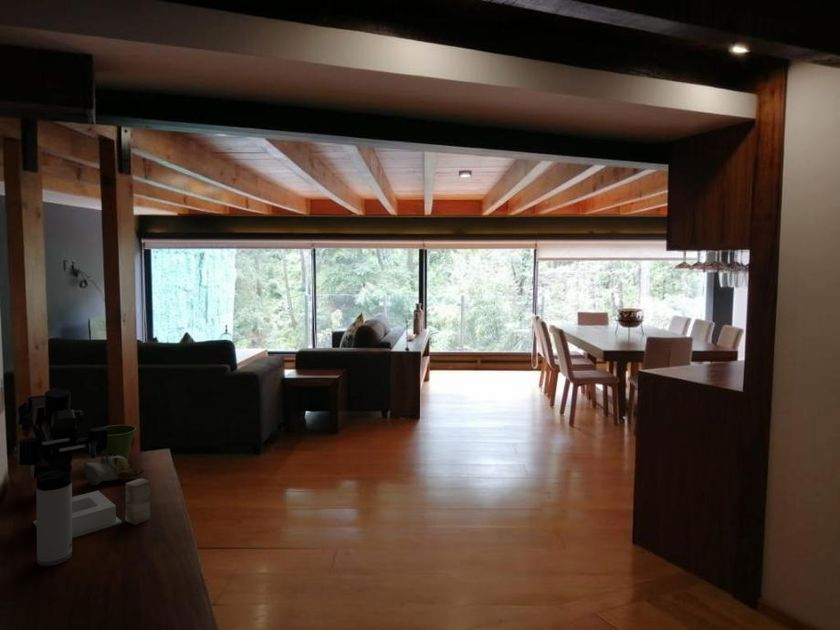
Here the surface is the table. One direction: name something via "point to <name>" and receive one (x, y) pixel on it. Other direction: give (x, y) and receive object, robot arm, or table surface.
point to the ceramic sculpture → (109, 469)
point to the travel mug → (54, 515)
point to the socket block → (91, 513)
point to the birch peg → (137, 501)
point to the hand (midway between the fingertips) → (72, 461)
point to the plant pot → (119, 440)
